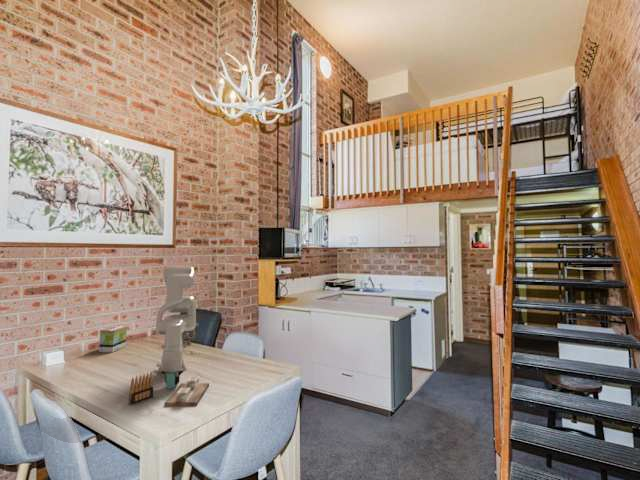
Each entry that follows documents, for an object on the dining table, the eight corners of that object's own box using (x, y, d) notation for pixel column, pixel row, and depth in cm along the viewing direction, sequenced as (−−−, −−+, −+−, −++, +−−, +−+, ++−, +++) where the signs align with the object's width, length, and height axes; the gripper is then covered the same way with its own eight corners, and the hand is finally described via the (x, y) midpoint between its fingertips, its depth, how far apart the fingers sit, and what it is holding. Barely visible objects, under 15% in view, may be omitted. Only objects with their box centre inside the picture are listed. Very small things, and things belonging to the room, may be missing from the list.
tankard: (167, 343, 250) (168, 323, 250) (177, 339, 262) (177, 320, 263) (192, 345, 247) (193, 324, 247) (201, 341, 259) (201, 321, 260)
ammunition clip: (151, 396, 161) (152, 370, 161) (153, 397, 160) (154, 371, 160) (128, 404, 152) (129, 377, 152) (130, 405, 151) (131, 378, 151)
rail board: (164, 406, 151) (164, 394, 151) (180, 386, 173) (181, 375, 173) (196, 405, 152) (197, 393, 152) (208, 386, 174) (209, 375, 174)
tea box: (113, 352, 227) (114, 330, 227) (98, 352, 227) (99, 330, 227) (126, 346, 242) (127, 325, 242) (112, 346, 242) (113, 325, 242)
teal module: (165, 388, 170) (166, 374, 170) (170, 383, 176) (170, 369, 176) (174, 388, 170) (174, 374, 170) (178, 383, 176) (178, 369, 176)
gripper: (153, 349, 169) (152, 387, 168) (187, 349, 170) (186, 386, 170) (159, 345, 176) (158, 381, 176) (192, 345, 177) (191, 380, 177)
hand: (172, 383), depth 173 cm, fingers closed on teal module, 3 cm apart
